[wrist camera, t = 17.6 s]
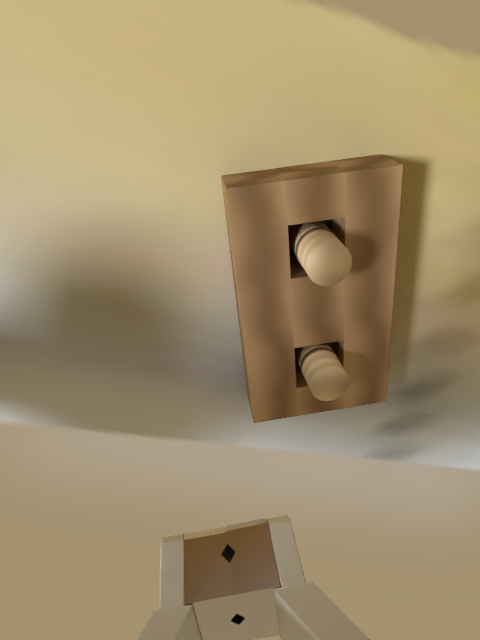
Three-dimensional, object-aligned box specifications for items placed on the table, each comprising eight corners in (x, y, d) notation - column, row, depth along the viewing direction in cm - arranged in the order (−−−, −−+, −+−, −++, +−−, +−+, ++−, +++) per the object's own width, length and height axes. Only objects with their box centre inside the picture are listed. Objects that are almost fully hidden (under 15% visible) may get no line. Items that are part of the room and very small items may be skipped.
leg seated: (285, 253, 43) (306, 289, 37) (283, 214, 42) (305, 245, 35) (323, 247, 44) (352, 283, 37) (323, 209, 42) (353, 238, 35)
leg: (291, 326, 47) (311, 368, 40) (326, 324, 48) (352, 366, 41) (288, 357, 49) (308, 402, 42) (322, 355, 50) (347, 400, 43)
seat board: (247, 395, 51) (253, 422, 47) (221, 175, 39) (226, 188, 35) (370, 375, 52) (386, 400, 48) (380, 154, 40) (403, 164, 36)
